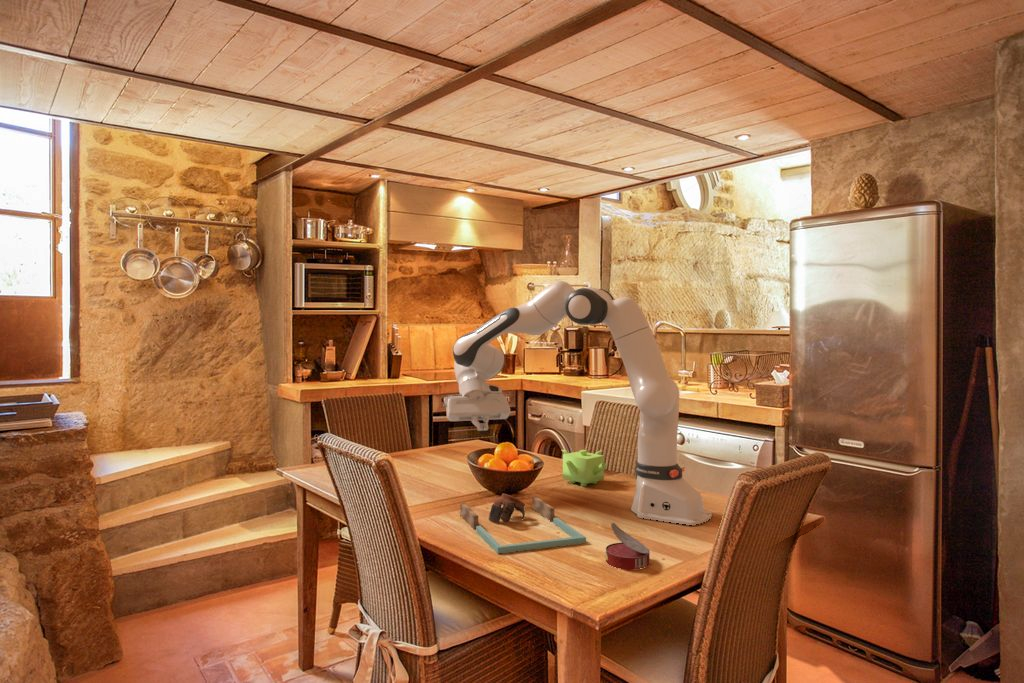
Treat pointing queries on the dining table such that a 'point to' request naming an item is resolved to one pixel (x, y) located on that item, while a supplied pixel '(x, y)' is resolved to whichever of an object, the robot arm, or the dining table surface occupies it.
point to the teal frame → (575, 539)
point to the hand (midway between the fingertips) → (483, 429)
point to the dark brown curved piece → (505, 508)
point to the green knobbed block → (583, 467)
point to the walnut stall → (536, 505)
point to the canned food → (626, 551)
